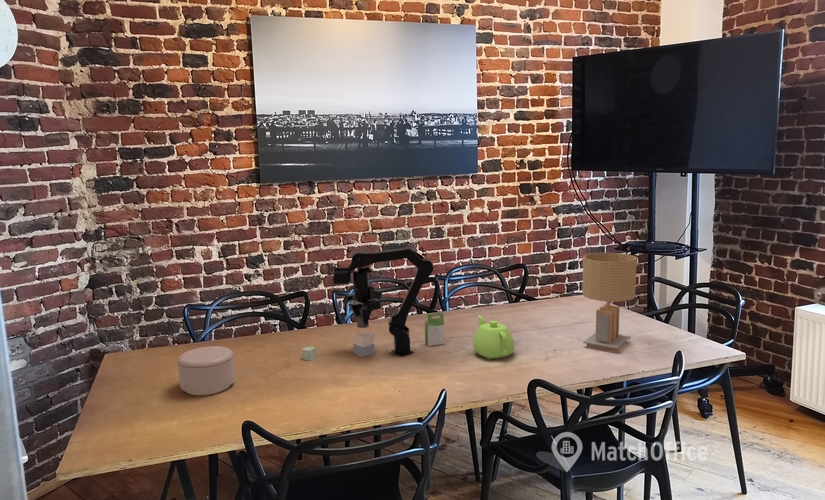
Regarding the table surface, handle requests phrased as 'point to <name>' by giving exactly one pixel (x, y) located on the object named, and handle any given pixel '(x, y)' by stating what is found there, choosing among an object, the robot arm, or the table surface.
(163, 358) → the table surface
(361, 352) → the tower base
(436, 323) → the ink box
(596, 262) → the desk lamp
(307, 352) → the sage block
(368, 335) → the tower top
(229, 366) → the container
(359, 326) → the dark grey cylinder
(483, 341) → the teapot
